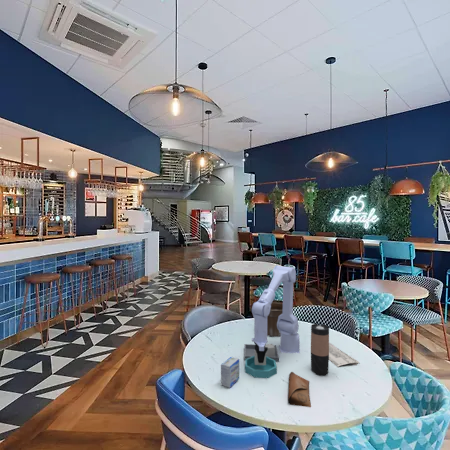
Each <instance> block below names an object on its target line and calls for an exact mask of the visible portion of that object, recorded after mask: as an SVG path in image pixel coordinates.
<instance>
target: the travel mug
mask: <svg viewBox="0 0 450 450" xmlns="http://www.w3.org/2000/svg"><path fill="white" fill-rule="evenodd" d="M310 328H311V329H310V370H311V372H312V373H313V374H314V375H316V376H320V377H325V376H328V374H329V366H330V365H329V362H330V360H329V343H330V327H329V326H328V325H326V324H318V323H313V324H311V327H310Z"/></svg>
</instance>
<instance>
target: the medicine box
mask: <svg viewBox="0 0 450 450" xmlns="http://www.w3.org/2000/svg"><path fill="white" fill-rule="evenodd" d="M239 379H240V359H239V358H237V357H233V356H230V357H229V358H228V359H226V360H225V361H223V363H221V364H220V385H221V386H224V387H226V388H229V389H230V388H232V387H233V386H234V385H235V384H236V382H238V381H239Z"/></svg>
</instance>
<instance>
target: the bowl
mask: <svg viewBox="0 0 450 450" xmlns="http://www.w3.org/2000/svg"><path fill="white" fill-rule="evenodd" d="M244 362H245V364H244V369H245V371H244V372H245V373H246V374H248V375H249V376H251V377H253V378H256V379H257V378H258V379H270V378H271V377H274V376H275V375H277V373H278V372H277V371H278V367H277V362H276V361H275V360H273V359H271V358H269V357H267V356H266V365H255V356H252V357H250V358H247V359H245V358H244Z"/></svg>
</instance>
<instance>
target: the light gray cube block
mask: <svg viewBox="0 0 450 450" xmlns="http://www.w3.org/2000/svg"><path fill="white" fill-rule="evenodd" d="M273 345H274V344H273V343H269V344H268V343H266V345H265V347H268V350H267V352H266V356H267V357H274V356H275V347H274V346H273Z"/></svg>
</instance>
